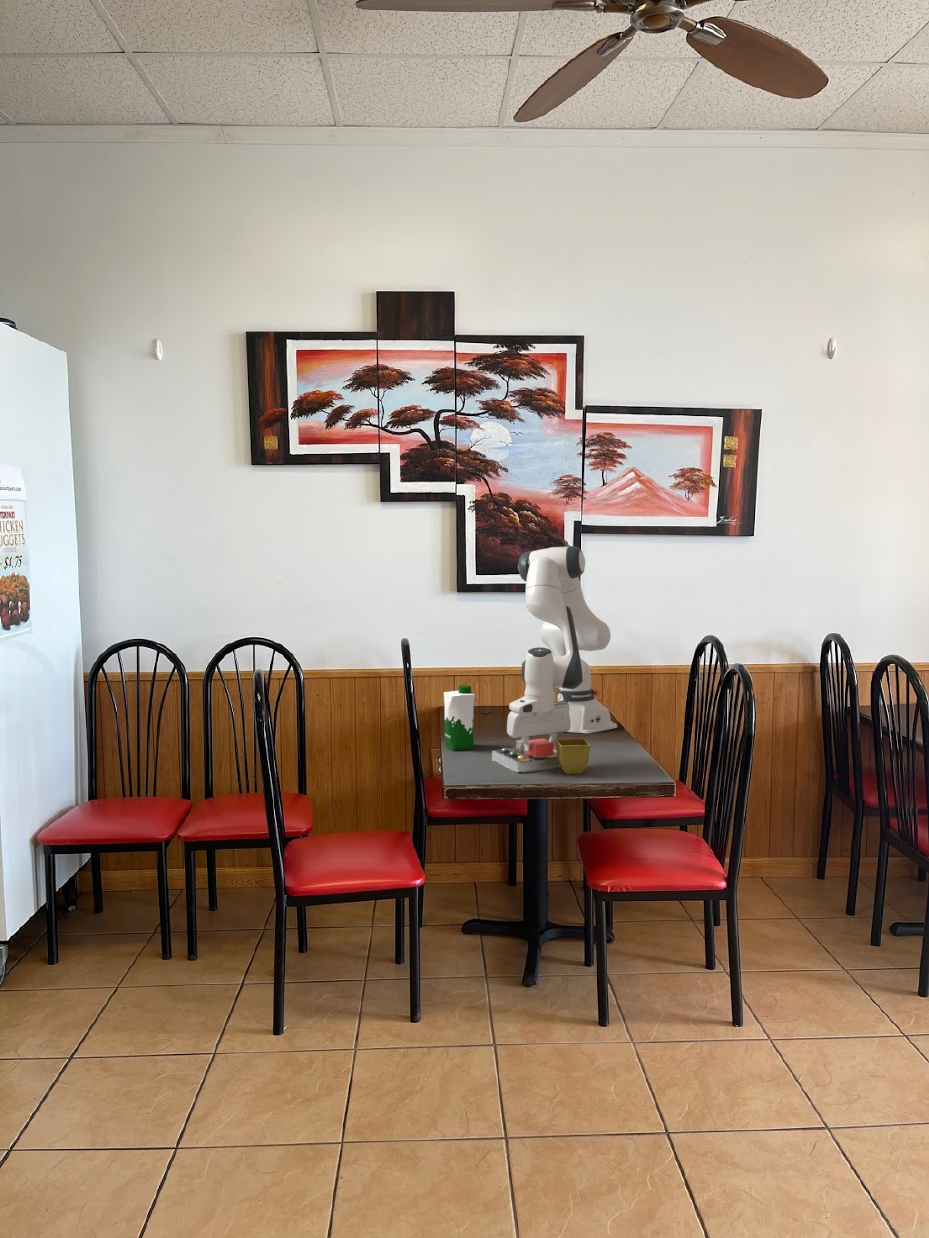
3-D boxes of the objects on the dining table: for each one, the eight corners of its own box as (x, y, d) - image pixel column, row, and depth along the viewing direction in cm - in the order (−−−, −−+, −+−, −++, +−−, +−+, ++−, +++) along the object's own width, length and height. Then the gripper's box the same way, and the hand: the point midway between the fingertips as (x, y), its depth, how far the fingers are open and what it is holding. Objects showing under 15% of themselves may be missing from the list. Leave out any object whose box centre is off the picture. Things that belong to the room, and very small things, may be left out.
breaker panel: (542, 753, 287) (542, 735, 287) (570, 765, 273) (570, 747, 272) (492, 760, 279) (492, 742, 279) (517, 773, 265) (517, 754, 264)
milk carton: (477, 749, 293) (477, 687, 291) (451, 752, 290) (451, 690, 287) (466, 743, 301) (466, 683, 299) (441, 745, 298) (440, 685, 295)
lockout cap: (542, 750, 275) (542, 738, 275) (553, 755, 270) (553, 742, 269) (525, 753, 273) (525, 740, 272) (535, 757, 267) (535, 745, 267)
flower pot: (554, 768, 270) (555, 738, 269) (583, 767, 271) (584, 737, 270) (560, 776, 262) (560, 745, 261) (590, 775, 262) (590, 745, 261)
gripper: (563, 698, 277) (563, 742, 278) (504, 704, 268) (504, 750, 270) (574, 701, 271) (574, 747, 273) (514, 708, 262) (514, 755, 264)
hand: (539, 748), depth 271 cm, fingers closed on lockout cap, 6 cm apart
